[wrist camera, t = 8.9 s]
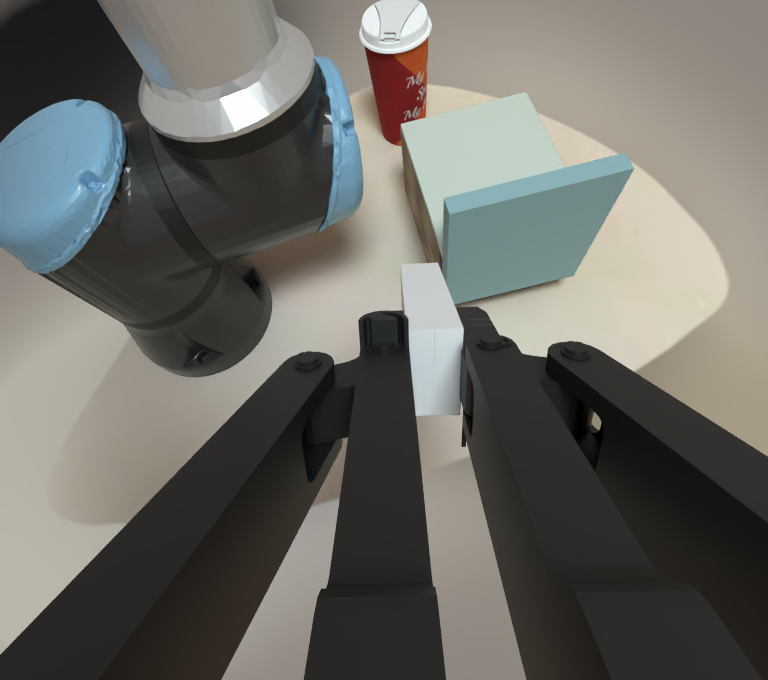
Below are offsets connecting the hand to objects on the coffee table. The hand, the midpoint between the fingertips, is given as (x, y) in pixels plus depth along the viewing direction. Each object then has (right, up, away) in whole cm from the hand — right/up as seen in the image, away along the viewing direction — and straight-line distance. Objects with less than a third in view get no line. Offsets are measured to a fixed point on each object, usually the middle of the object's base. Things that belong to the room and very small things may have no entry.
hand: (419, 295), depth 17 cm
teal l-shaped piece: (+9, +11, +28) cm, 31 cm away
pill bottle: (+1, +26, +39) cm, 47 cm away
